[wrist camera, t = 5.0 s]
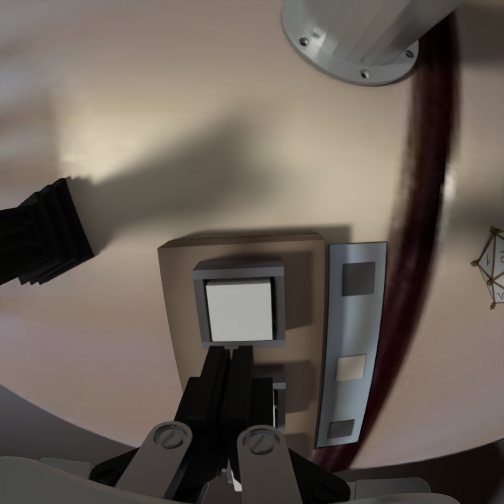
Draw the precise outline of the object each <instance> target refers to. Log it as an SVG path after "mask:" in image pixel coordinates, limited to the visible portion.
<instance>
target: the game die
mask: <svg viewBox="0 0 504 504" xmlns="http://www.w3.org/2000/svg"><path fill="white" fill-rule="evenodd" d="M490 228H491V230H490V232H492V233H493V234H494V235H493V237H492V239H491V240H490V242H489V244H488V246H487V248H486V250H485V251H484V253H483V255H482V257H481V258H480V260H479V262H476V261H475V262H474V261H473V262H472V263H471V265H472V266H473V267H474V266H475V267H476V266H478V267H479V269H480V271H481V273H482V276H483V278H484V280H485V282H486V285H487V287H488V289H489V292H490V294H491V297H492V299H493V303H492V305H491V307H490V310H492V309H494V307H495V304H496V303H504V231H501V230H500V229H497V231H496V230H495V228H494V227H492V226H490Z"/></svg>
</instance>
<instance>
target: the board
mask: <svg viewBox="0 0 504 504" xmlns="http://www.w3.org/2000/svg"><path fill="white" fill-rule="evenodd" d="M157 249H158V258H159V265H160V273H161V280H162V286H163V293H164V299H165V306H166V311H167V317H168V323H169V328H170V334H171V339H172V344H173V349H174V354H175V359H176V364H177V368H178V373H179V377H180V382H181V386H182V390H183V393H184V390H185V388H186V385H187V382H188V379H189V377H200V375H201V371H202V368H203V365H204V362H205V359H206V356H207V353H208V349H209V347H210V346H224V347H225V349H229V350H230V356H231V358H232V353H233V349H238V346H240V345H253V354H254V368H255V377H273V389H274V408H275V428H277V429H279V430H280V431H281V432H282V433H283V435H284V437H285V440H286V444H287V447H288V448H290V449H291V450H293V451H294V452H296V453H298V454H299V455H301V456H302V457H304V458H306V459H307V460H309V461H312V453H313V446H314V437H315V429H316V420H317V410H318V399H319V388H320V375H321V360H322V343H323V322H324V288H325V240H324V239H323V238H322V237H321V236H320V235H319V234H318V233H305V234H283V235H263V236H243V237H225V238H207V239H190V240H173V241H168V242H167V243H165V244H163V245H162V246H160V247H159V248H157ZM385 262H386V242H377V243H355V244H334V245H329V298H328V324H327V343H326V358H325V372H324V384H323V394H322V404H321V414H320V422H319V431H318V439H317V447H323V446H331V445H338V444H345V443H351V442H357V441H358V437H359V434H360V430H361V426H362V422H363V417H364V413H365V409H366V404H367V400H368V395H369V390H370V385H371V380H372V374H373V368H374V363H375V356H376V350H377V343H378V336H379V329H380V320H381V312H382V302H383V291H384V278H385ZM269 276H270V289H271V315H272V340H253V341H213V339H212V331H211V323H210V315H209V307H208V298H207V289H206V285H207V283H208V281H209V280H210V279H223V278H247V277H269ZM231 470H232V469H231V467H230V463H229V459H228V466H227V469H222V472H226V473H227V477H228V482H229V483H234V482H233V477H232V473H231Z"/></svg>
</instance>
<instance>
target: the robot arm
mask: <svg viewBox="0 0 504 504" xmlns="http://www.w3.org/2000/svg"><path fill="white" fill-rule="evenodd" d="M465 1H466V0H284V1H283V4H282V10H281V22H282V26H283V30H284V33H285V35H286V37H287V39H288V41H289V43H290V44H291V45H292V47H293V48H294V49H295V51H296V52H297V53H298V54H299V55H300V56H301V57H302V58H303V59H304V60H305V61H306V62H308V63H309V64H310V65H312V66H313V67H315V68H316V69H317V70H319V71H321V72H323V73H325V74H327V75H328V76H330V77H332V78H335V79H338V80H341V81H343V82H346V83H351V84H355V85H361V86H378V85H385V84H388V83H391V82H394V81H396V80H397V79H399V78H401V77H402V76H404V75H405V74H406V73H407V72H408V71H409V70H411V68H412V67H413V65H414V63H415V62H416V59H417V56H418V50H419V41H418V39H419V38H420V37H422V36H423V35H424V34H425V33H426V32H428V31H429V30H430V29H431V28H432V27H434V26H435V25H436V24H437V23H438V22H440V21H441V20H442V19H443V18H445V17H446V16H447V15H448V14H450V13H451V12H452V11H453V10H455V9H456V8H457V7H458V6H460V5H461V4H462V3H463V2H465ZM301 44H303V45H305V46H302V45H301ZM361 75H363V76H364V78H363V77H362V76H361ZM228 459H229V463H230V467H231V469H232V472H233V477H234V479H235V480H236V481H237V482H239V483H240V484H241V487H242V495H243V504H460V503H459V502H458V501H456V500H455V499H453V498H451V497H449V496H445V495H441V494H434V493H431V492H430V488H429V485H428V484H427V483H426V482H425V481H424V480H421V479H419V478H402V479H385V480H357V482H354V483H353V482H345V481H344V480H343V479H341V478H339V477H337V476H336V475H334V474H332V473H330V472H328V471H327V470H325V469H323V468H321V467H319V466H318V465H316V464H314V463H313V462H311V461H309V460H307V459H306V458H304V457H302V456H301V455H299V454H298V453H296V452H294V451H293V450H291V449H290V448H288V447H287V444H286V440H285V437H284V435H283V433H282V432H281V431H280V430H279V429H277V428H275V427H274V413H273V377H255V368H254V354H253V345H240V346H238V349H233V353H232V358H231V356H230V350H229V349H225V347H224V346H210V347H209V349H208V353H207V356H206V359H205V362H204V365H203V368H202V371H201V375H200V377H189V379H188V382H187V385H186V388H185V390H184V393H183V396H182V399H181V402H180V404H179V407H178V410H177V413H176V416H175V418H174V421H168V422H163V423H160V424H158V425H157V426H155V427H154V428H153V429H152V430H151V431H150V433H149V434H148V436H147V437H146V439H145V441H144V442H143V444H142V445H141V447H139V448H136V449H134V450H132V451H129V452H127V453H125V454H122V455H120V456H117V457H115V458H112V459H110V460H107V461H105V462H102V463H100V464H98V465H96V466H93V465H92V464H91V463H83V462H75V461H67V460H60V459H54V458H45V459H41V460H40V461H39V462H38V461H34V460H30V459H26V458H20V457H0V504H202V501H203V499H204V496H205V494H206V491H207V489H208V484H209V483H208V482H209V481H210V480H212V479H214V478H215V477H216V476H221V472H222V469H227V466H228Z"/></svg>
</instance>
